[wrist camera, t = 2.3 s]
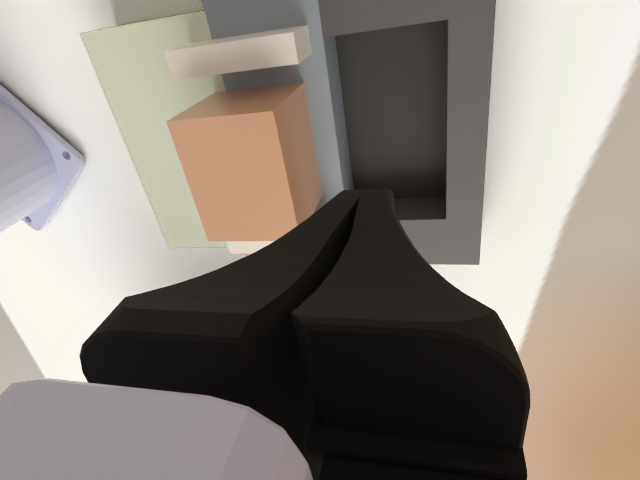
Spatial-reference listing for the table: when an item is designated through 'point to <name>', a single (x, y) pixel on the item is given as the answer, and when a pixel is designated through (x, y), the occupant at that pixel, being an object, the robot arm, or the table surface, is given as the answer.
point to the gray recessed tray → (389, 103)
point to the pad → (155, 111)
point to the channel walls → (240, 69)
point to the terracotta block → (250, 161)
